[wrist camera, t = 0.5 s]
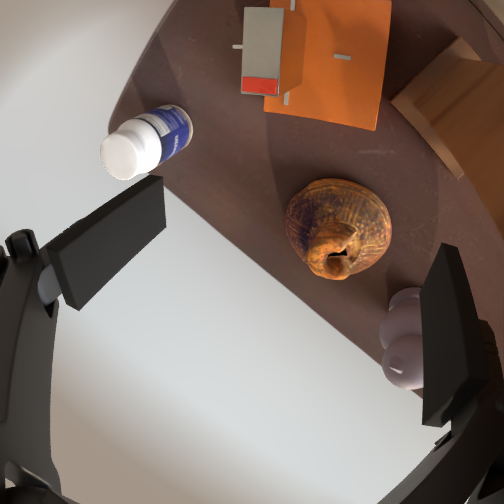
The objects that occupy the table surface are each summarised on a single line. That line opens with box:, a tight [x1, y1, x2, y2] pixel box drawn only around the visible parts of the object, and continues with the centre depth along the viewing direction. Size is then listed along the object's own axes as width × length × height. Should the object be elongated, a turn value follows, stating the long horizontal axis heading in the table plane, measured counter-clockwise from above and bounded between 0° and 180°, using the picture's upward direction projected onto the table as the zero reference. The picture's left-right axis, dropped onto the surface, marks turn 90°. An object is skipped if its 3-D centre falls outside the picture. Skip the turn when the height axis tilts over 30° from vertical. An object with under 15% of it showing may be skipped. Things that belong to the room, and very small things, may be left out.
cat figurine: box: [379, 287, 423, 389], centre depth 33 cm, size 9×8×12 cm
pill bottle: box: [100, 105, 193, 180], centre depth 30 cm, size 6×6×10 cm
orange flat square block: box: [233, 0, 392, 131], centre depth 24 cm, size 12×13×3 cm
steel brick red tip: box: [241, 7, 307, 97], centre depth 20 cm, size 6×2×8 cm, turn 177°
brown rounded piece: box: [284, 178, 392, 280], centre depth 32 cm, size 12×12×7 cm
